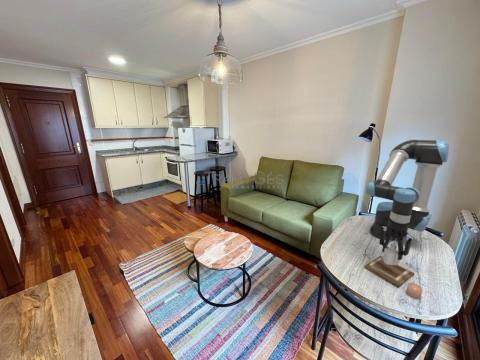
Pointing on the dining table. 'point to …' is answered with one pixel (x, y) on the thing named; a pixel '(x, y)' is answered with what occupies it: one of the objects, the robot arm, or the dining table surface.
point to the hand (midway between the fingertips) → (390, 261)
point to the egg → (414, 290)
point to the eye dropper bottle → (390, 255)
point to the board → (389, 272)
